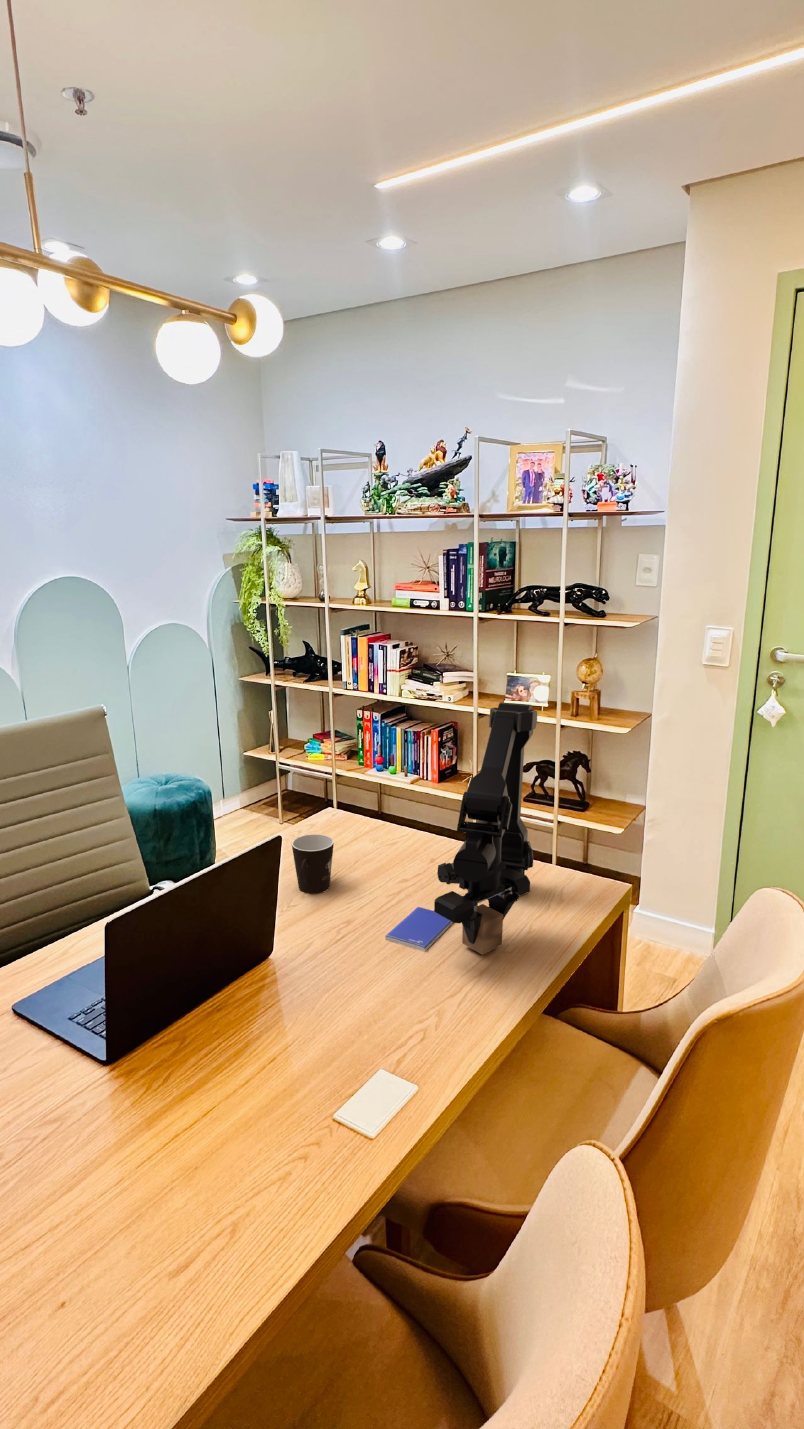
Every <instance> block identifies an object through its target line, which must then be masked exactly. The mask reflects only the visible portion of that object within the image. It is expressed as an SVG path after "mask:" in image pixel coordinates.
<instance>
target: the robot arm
mask: <svg viewBox="0 0 804 1429" xmlns="http://www.w3.org/2000/svg"><path fill="white" fill-rule="evenodd" d="M537 724H538V711H537V710H535V709H533V707H532V704H526V703H514V702H512V703H511V702H499V704H498V707H491V708H489V721H488V727H489V728H490V732H489V736H488V740H487V744H486V748H485V752H484V755H483V756H484V757H483V761H482V763H481V767H480V771H479V772H477V774H476V775H474V776H473V777H472V778H470V781H469V783H468V786H467V789H466V790H467V791H464V792H463V795H462V799H461V805H460V809H459V816H458V822H457V828H456V832H457V833H462V834H463V833H465V838H464V842H463V844H462V845H461V846H460V848H459V849H458V851H457V852H456V854H455V855H454V858H453V861H452V862H444V863H440V864H438V865H437V877H438V881H439V882H440V883H445V884H446V885H451V884H453V885H454V884H457V885H458V888H459V889H461V890H467V892H466V893H465V894H463V895H461V894H459V893H457V892H456V891H453V890H452V891H449V892H447V893H444V894H441V895H439V896H438V897H436V898H435V899H434V904H433V905H434V908H433V909H434V910H433V911H434V912H436V913H438V914H439V915H441V916H443V917H445V918H446V919H448V920H450V921H452V922H453V923H454V924H462V928H463V927H464V930H465V933H466V935H467V938H468V941H469V942H470V943H472V944H474V943H475V941H476V938H477V934H478V930H479V927H480V923H481V919H482V914H481V913H479V912H477V906H479V905H478V904H480V903H482V902H485V901H486V900H487V901H488V907H490V908H492V909H494V910H496V911H498V912H499V913H501V914H503V920H505V918H506V916H507V915H508V913H509V912H510V910H511V909H512V907H513V905H514V904H515V902H517V901H518V900H519V897H521V896H523V895H525V894H528V893H529V892H530V891H531V881H530V878H529V877H528V876H527V874H526V873H525V871H528V870H529V869H530V868H531V869H532V868H533V867H534V852H533V848H532V846H531V843H530V841H528V837H529V836H528V832H529V831H528V829H527V827H526V826H525V823H524V822H523V820H522V816H521V815H522V814H521V813H522V811H521V810H522V796H523V795H522V794H523V779H524V776H523V775H524V759H525V758H524V757H525V756H524V755H525V747H526V745H527V744H528V742H529V741H530V739H531V738H532V736H533V734H534V730H536V728H537ZM467 818H468V820H474V821H476V822H474V821H468V820H466V819H467Z"/></svg>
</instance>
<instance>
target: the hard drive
mask: <svg viewBox="0 0 804 1429" xmlns="http://www.w3.org/2000/svg"><path fill="white" fill-rule="evenodd" d="M453 923H454V922H452V921H450V920H448V919H446V918H445V917H443V916H441V915H439V914H438V913H436V912H434V910H431V909H429V908H425V907H424V908H423V907H420V906H417V907H416V908H415V909H414V910H413V911H411V913H409V914H408V915H406V917H404V918H403V920H401V921H400V922H399V923H398V924H397V925H396V926H395V927H394V928H392V930H390V931H389V932H388V933H387V934H386V935H385V937H384V938H385V941H388V942H391V943H393V944H394V943H395V944H397V945H401V946H405V947H408V948H411V949H414V950H418V951H420V952H424V953H425V952H426V951H427V950H428V949H429V948H430V947H431V946H432V945H433V944H435V942H436V941H437V940H438V939H440V937H441V936H442V935H443V933H444V932H446V931H447V930H448V929H449V927H451V926H452V924H453Z"/></svg>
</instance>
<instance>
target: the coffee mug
mask: <svg viewBox="0 0 804 1429" xmlns="http://www.w3.org/2000/svg"><path fill="white" fill-rule="evenodd" d="M334 843H335V840H334V838H333V837H331V836H329V835H326V834H320V833H310V834H304V835H300V836H298V837H296V838H294V839H293V840H292V841H291V849H292V855H293V862H294V868H295V873H296V878H297V885H298V890H299V891H300V892H302V893H304V894H306V895H307V894H308V895H318V894H322V893H324V891H325V892H327V891H328V890H329V888H330V884H331V875H332V874H331V873H332V864H333V854H334V845H335V844H334Z"/></svg>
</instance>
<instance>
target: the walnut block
mask: <svg viewBox="0 0 804 1429" xmlns="http://www.w3.org/2000/svg"><path fill="white" fill-rule="evenodd" d="M477 912H479V913H481V914H482V919H481V923H480V927H479V930H478V934H477V938H476V941H475V943H474V944H472V943H470V942H469V941H468V938H467V935H466V933H465V930H464V927H463V926H462V934H461V935H462V937H461V939H462V940H461V943H462V945H465V946H466V947H467V948H469V949H472V950H474V951H475V952H476V953H478V954H480V955H485V954H487V953H489V952H491V951H492V950H494V949H497V948H498V947H500V946H502V945H503V931H504V930H503V926H504V925H503V924H504V919H503V914H501V913H499V912H498V911H496V910H494V909H492V908H490V907H489V905H485V904H484V903H482V904H480V905H478V906H477Z"/></svg>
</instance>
